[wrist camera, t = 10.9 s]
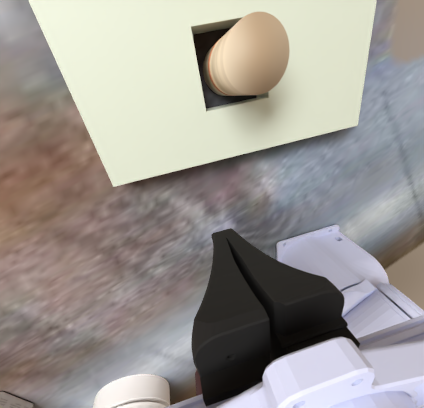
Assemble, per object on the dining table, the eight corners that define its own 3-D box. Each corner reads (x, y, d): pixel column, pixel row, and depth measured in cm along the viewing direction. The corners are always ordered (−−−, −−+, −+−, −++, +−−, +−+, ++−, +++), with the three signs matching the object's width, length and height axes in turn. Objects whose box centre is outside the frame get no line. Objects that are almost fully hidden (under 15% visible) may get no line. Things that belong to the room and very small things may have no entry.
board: (359, -67, 16) (390, -93, 14) (338, 122, 23) (357, 125, 21) (32, -21, 14) (8, -43, 11) (118, 177, 20) (113, 186, 18)
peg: (245, 38, 18) (290, 6, 11) (248, 91, 19) (288, 89, 13) (198, 44, 17) (220, 15, 11) (206, 99, 19) (228, 100, 13)
